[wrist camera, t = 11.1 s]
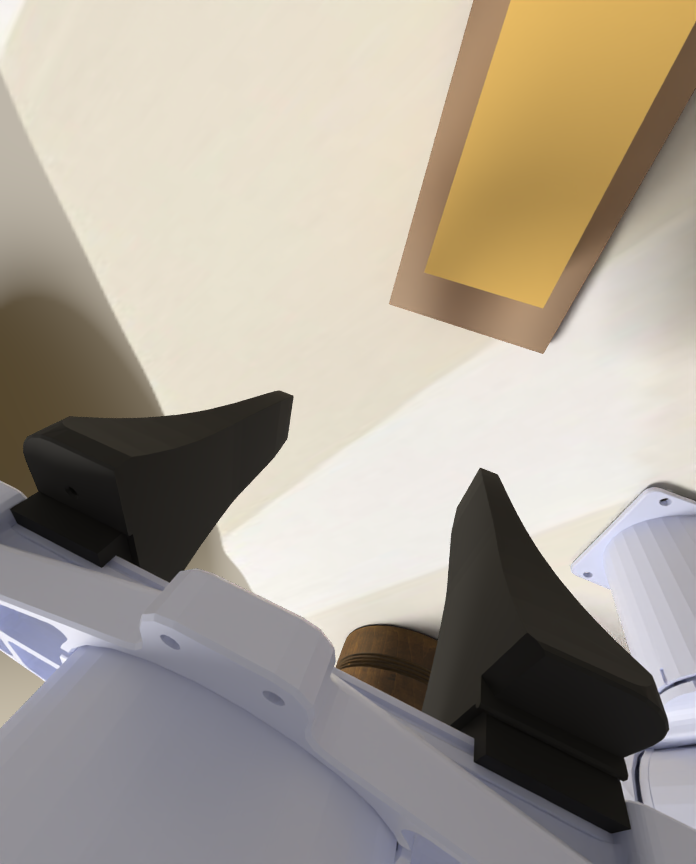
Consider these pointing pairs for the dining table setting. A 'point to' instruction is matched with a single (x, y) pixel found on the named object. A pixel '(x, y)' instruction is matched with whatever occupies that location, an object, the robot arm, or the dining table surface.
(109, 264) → the dining table surface
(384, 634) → the wooden container
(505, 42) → the block
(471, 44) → the pin plate
